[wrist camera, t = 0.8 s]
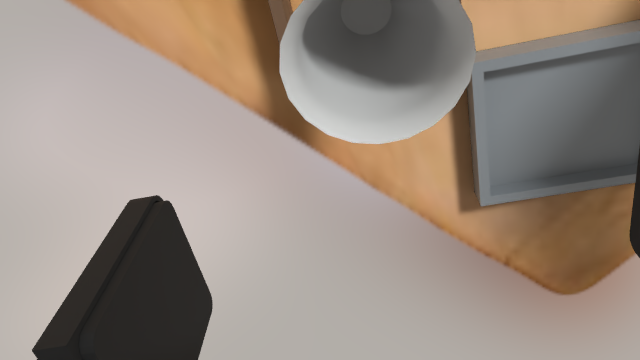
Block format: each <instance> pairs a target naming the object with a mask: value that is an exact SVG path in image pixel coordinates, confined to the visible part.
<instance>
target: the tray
mask: <svg viewBox="0 0 640 360" xmlns="http://www.w3.org/2000/svg"><path fill="white" fill-rule="evenodd" d="M467 97H468V110H469V124H470V138H471V151H472V165H473V179H474V192H475V194H476V197H477V199H478V201H479V204H480V206H487V205H493V204H500V203H506V202H513V201H519V200H526V199H532V198H539V197H545V196H552V195H558V194H565V193H571V192H578V191H584V190H591V189H597V188H604V187H610V186H617V185H623V184H630V183H635V182H636V173H637V164H638V155H639V147H640V20H636V21H630V22H625V23H620V24H615V25H610V26H605V27H600V28H595V29H589V30H584V31H579V32H574V33H569V34H564V35H559V36H554V37H548V38H543V39H538V40H533V41H528V42H523V43H518V44H513V45H507V46H502V47H497V48H492V49H487V50H482V51H477V52H476V56H475V60H474V65H473V69H472V74H471V78H470V82H469V84H468V85H467Z"/></svg>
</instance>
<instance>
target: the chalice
mask: <svg viewBox="0 0 640 360" xmlns="http://www.w3.org/2000/svg"><path fill="white" fill-rule="evenodd" d="M475 56H476V49H475V41H474V34H473V27H472V23H471V21H470V19H469V18H468V16H467V14H466V12H465V10H464V9H463V7H462V5H461V3H460V2H459V0H304V1H303V2H302V3H301V4H300V5H299V6H298V8H297V9H296V10H295V11H294V12H293V14H292V15H291V17H290V19H289V22H288V24H287V27H286V30H285V32H284V35H283V37H282V40H281V43H280V75H281V78H282V81H283V84H284V87H285V90H286V93H287V96H288V99H289V100H290V101H291V102H292V104H293V105H294V106H295V107H296V109H297V110H298V111H299V112H300V114H301V115H302V116H303V118H304V119H305V120H306V121H308V122H309V123H311V124H312V125H314V126H315V127H317V128H318V129H320V130H321V131H323V132H324V133H326V134H327V135H330V136H333V137H336V138H340V139H343V140H346V141H349V142H352V143H368V144H383V143H388V142H393V141H398V140H402V139H407V138H410V137H412V136H414V135H416V134H418V133H420V132H422V131H424V130H426V129H428V128H430V127H432V126H433V125H435V124H436V123H437V122H438V121H439V120H440V119H441V118H442V117H443V116H445V115H446V114H447V113H448V112H449V111H450V110H451V109H452V108H453V107H455V105H456V103H457V102H458V100H459V99H460V97H461V95H462V94H463V92H464V90H465V89H466V87H467V85H468V84H469V82H470V78H471V74H472V69H473V65H474V60H475Z"/></svg>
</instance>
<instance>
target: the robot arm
mask: <svg viewBox="0 0 640 360" xmlns="http://www.w3.org/2000/svg"><path fill="white" fill-rule="evenodd" d="M630 241H631V245H632V247H633V249H634V251H635V253H636V254H637V255H638V256H639V258H640V147H639V155H638V164H637V173H636V182H635V191H634V199H633V208H632V217H631V226H630ZM211 313H212V297H211V294H210V291H209V289H208V286H207V284H206V282H205V280H204V277H203V275H202V273H201V270H200V268H199V266H198V263H197V261H196V259H195V256H194V254H193V252H192V249H191V247H190V245H189V242H188V240H187V238H186V235H185V233H184V231H183V228H182V226H181V224H180V221H179V219H178V217H177V214H176V212H175V210H174V208H173V206H172V204H171V203H170V202H169V201H163V199H162V198H161V197H160V196H157V195H156V196H151V197H145V198H139V199H133V200H130V201H129V202H128V203H127V205H126V206H125V208H124V210H123V211H122V213H121V214H120V216H119V217H118V219H117V220H116V222H115V223H114V225H113V227H112V228H111V230H110V231H109V233H108V234H107V236H106V237H105V239H104V240H103V242H102V243H101V245H100V247H99V248H98V250H97V251H96V253H95V254H94V256H93V257H92V259H91V260H90V262H89V263H88V265H87V266H86V268H85V269H84V271H83V273H82V274H81V276H80V277H79V279H78V280H77V282H76V283H75V285H74V286H73V288H72V289H71V291H70V292H69V294H68V296H67V297H66V299H65V300H64V302H63V303H62V305H61V306H60V308H59V309H58V311H57V313H56V314H55V316H54V317H53V319H52V320H51V322H50V323H49V325H48V326H47V328H46V329H45V331H44V332H43V334H42V336H41V337H40V339H39V340H38V342H37V343H36V345H35V346H34V348H33V349H32V352H33V353H34V354H35V356H36V357H37V358H38V359H37V360H198V357H199V354H200V351H201V347H202V344H203V340H204V337H205V333H206V330H207V326H208V323H209V320H210V316H211Z"/></svg>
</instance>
